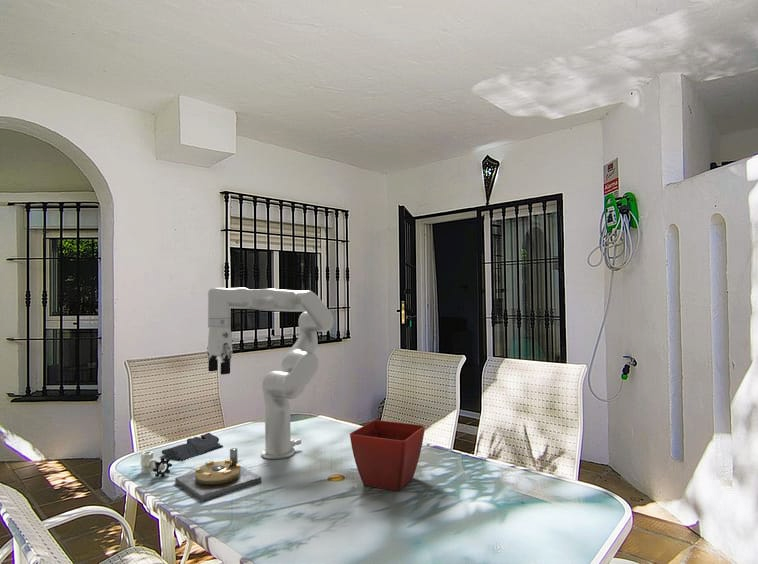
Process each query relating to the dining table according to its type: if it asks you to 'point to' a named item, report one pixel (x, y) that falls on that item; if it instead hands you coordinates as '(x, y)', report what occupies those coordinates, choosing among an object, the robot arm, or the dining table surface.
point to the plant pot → (387, 453)
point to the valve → (154, 464)
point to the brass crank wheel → (219, 471)
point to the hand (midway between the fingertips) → (219, 372)
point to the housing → (212, 491)
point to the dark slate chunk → (194, 447)
